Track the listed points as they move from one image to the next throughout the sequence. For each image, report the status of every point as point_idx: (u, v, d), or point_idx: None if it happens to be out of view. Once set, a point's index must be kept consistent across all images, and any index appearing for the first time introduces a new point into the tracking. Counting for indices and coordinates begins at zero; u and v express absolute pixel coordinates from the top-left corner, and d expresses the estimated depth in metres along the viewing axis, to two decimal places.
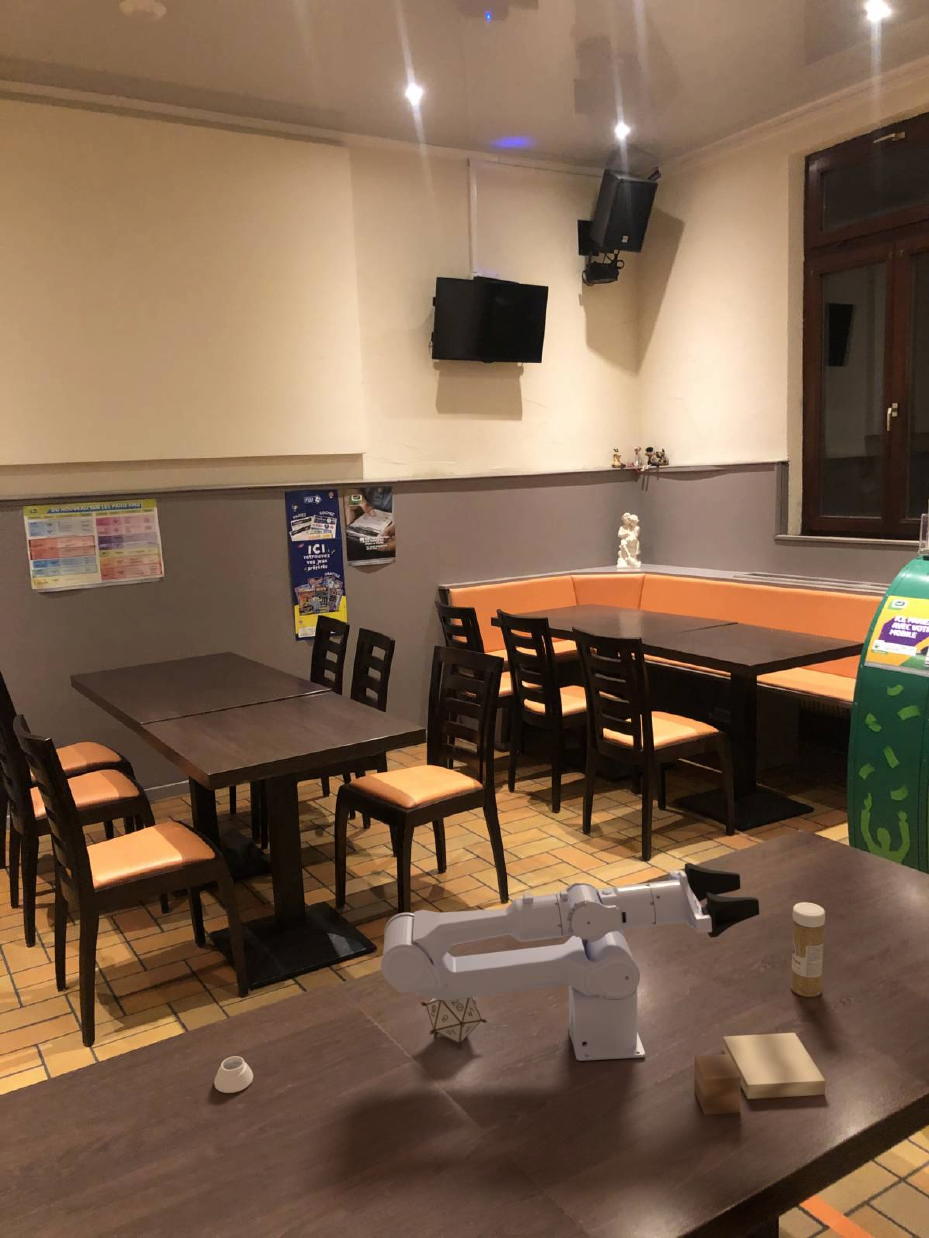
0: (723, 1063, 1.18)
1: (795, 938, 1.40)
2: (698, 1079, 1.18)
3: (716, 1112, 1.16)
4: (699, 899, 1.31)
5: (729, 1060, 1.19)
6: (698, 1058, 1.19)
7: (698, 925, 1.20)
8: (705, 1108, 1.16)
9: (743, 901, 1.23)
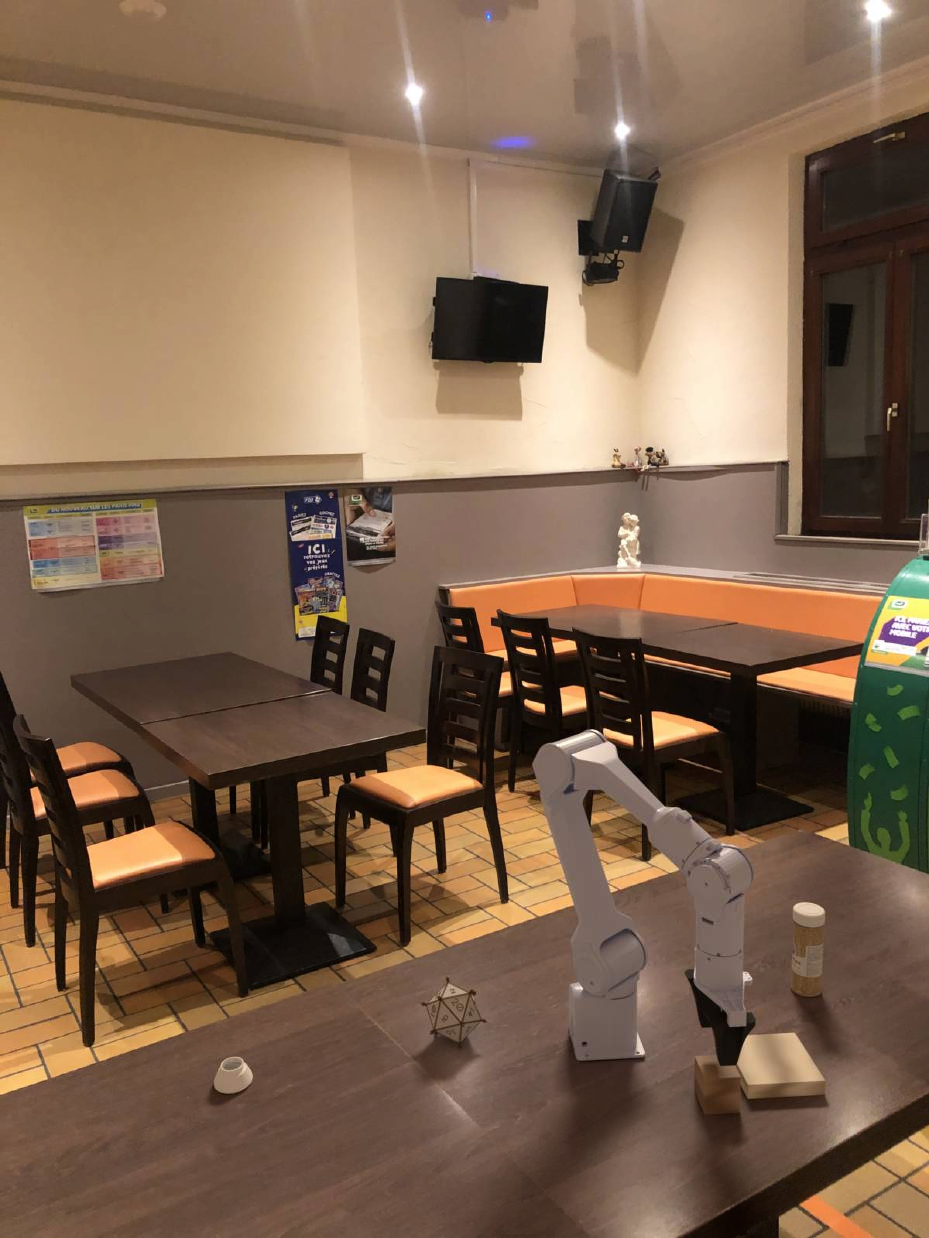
0: None
1: (795, 938, 1.40)
2: (698, 1079, 1.18)
3: (716, 1112, 1.16)
4: (693, 985, 1.19)
5: None
6: (698, 1058, 1.19)
7: (739, 1013, 1.08)
8: (705, 1108, 1.16)
9: (739, 1050, 1.12)
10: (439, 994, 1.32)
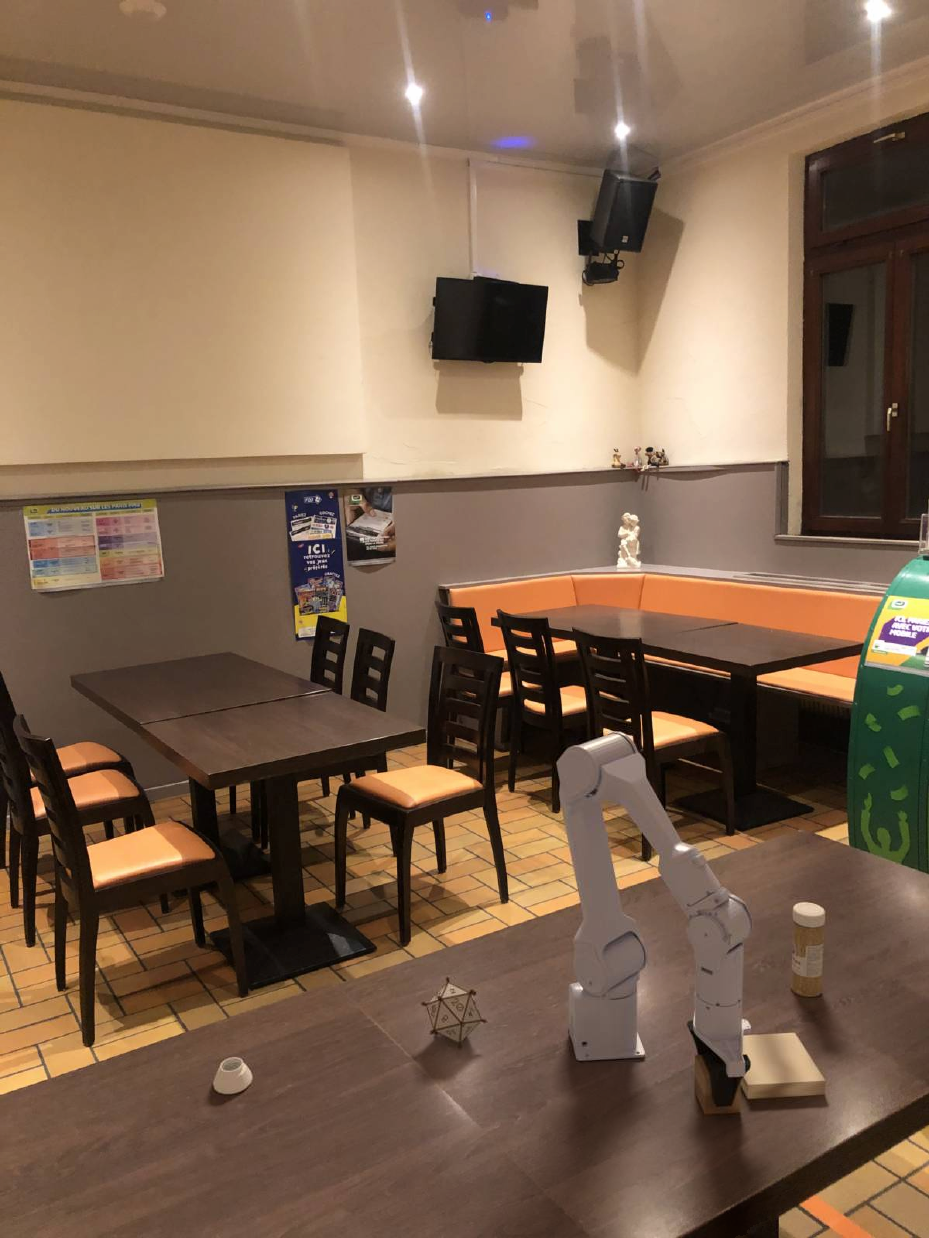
0: None
1: (795, 938, 1.40)
2: (698, 1078, 1.18)
3: (716, 1111, 1.16)
4: (695, 1037, 1.19)
5: None
6: (698, 1057, 1.19)
7: (738, 1063, 1.09)
8: (705, 1107, 1.16)
9: (735, 1091, 1.15)
10: (439, 994, 1.32)
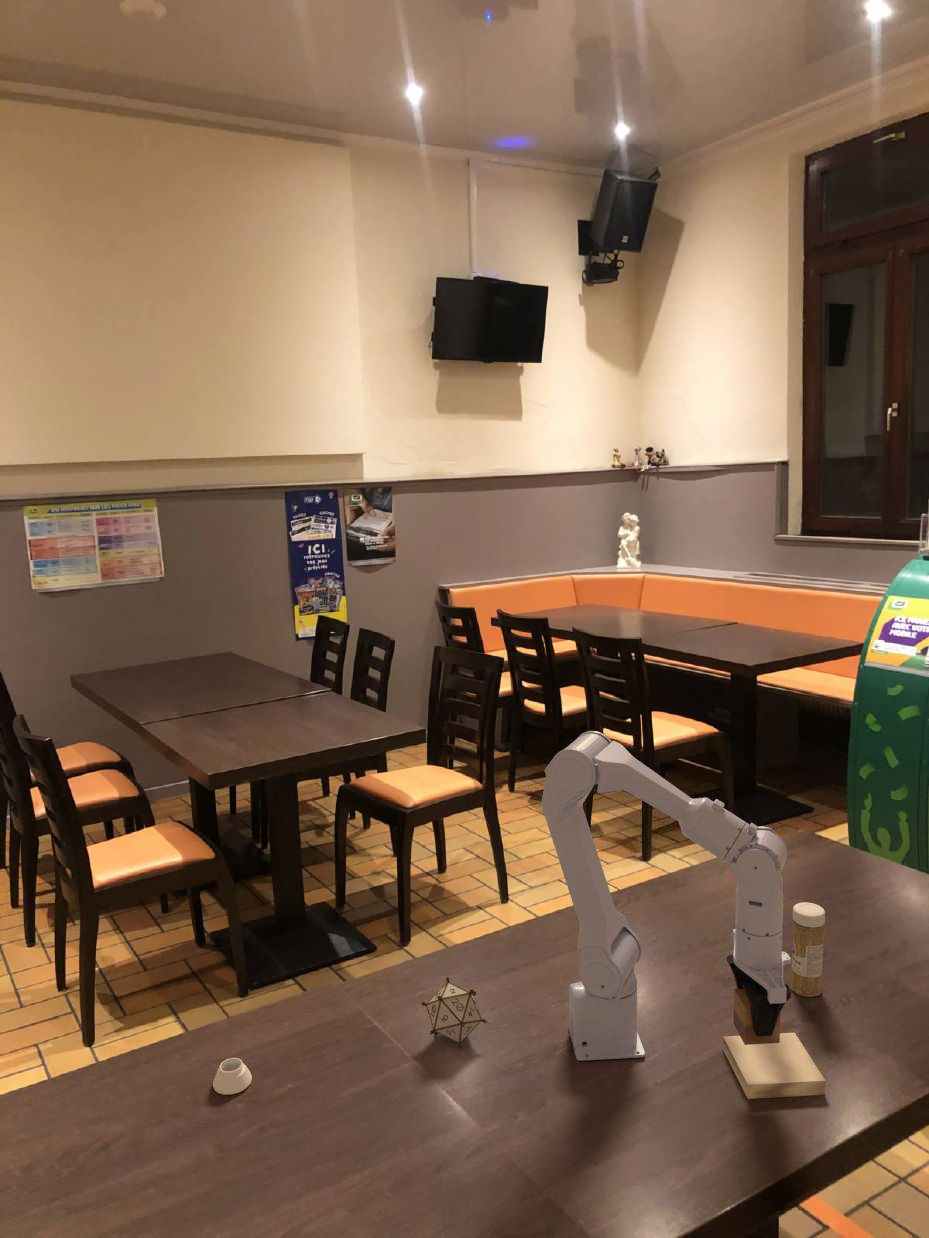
0: None
1: (795, 938, 1.40)
2: (738, 1011, 1.20)
3: (756, 1042, 1.18)
4: (735, 970, 1.22)
5: None
6: (738, 991, 1.21)
7: (779, 990, 1.12)
8: (745, 1038, 1.18)
9: (775, 1021, 1.17)
10: (439, 994, 1.32)
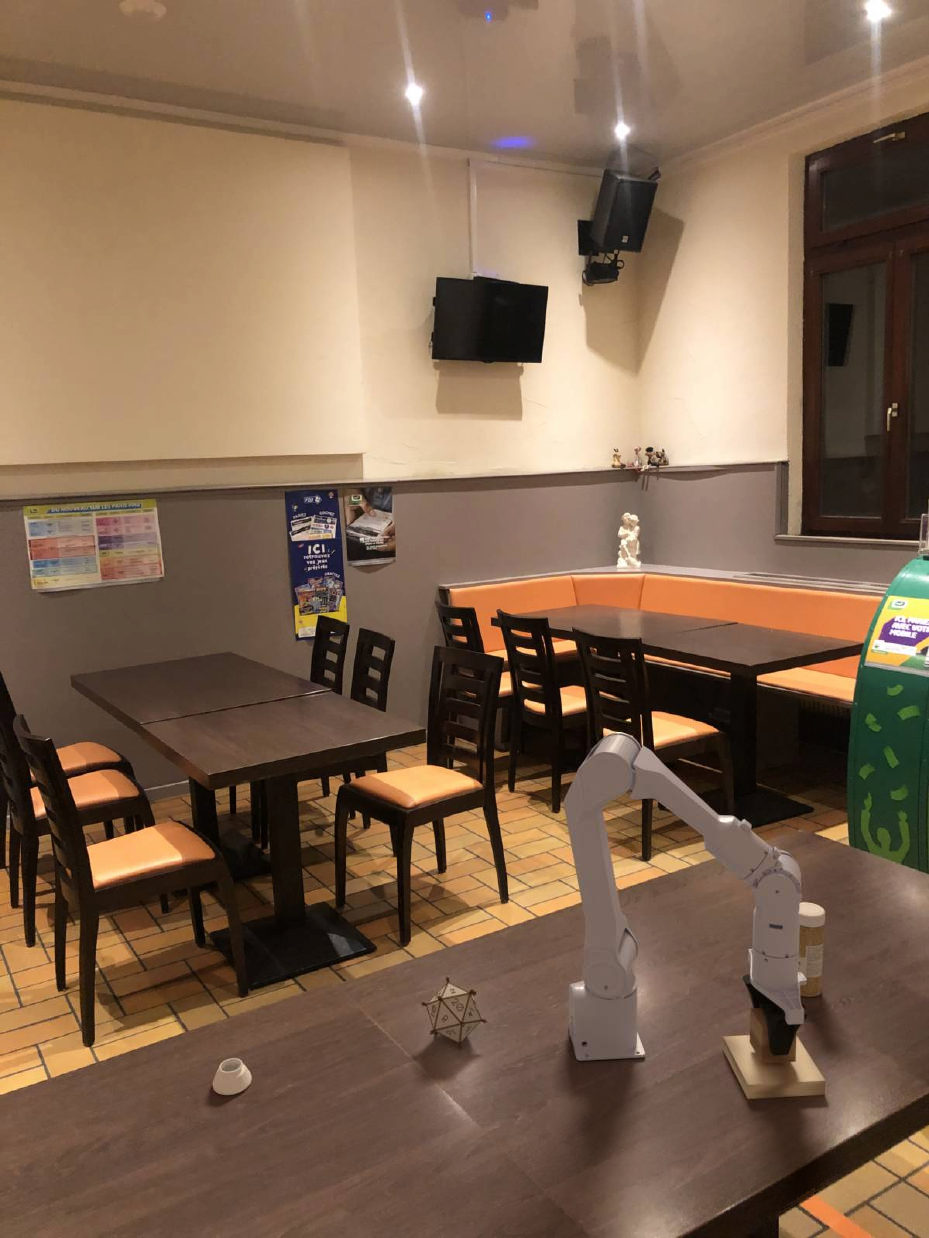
0: None
1: None
2: (754, 1030, 1.23)
3: (773, 1061, 1.21)
4: (751, 990, 1.24)
5: None
6: (754, 1010, 1.24)
7: (797, 1011, 1.14)
8: (762, 1057, 1.21)
9: (791, 1040, 1.19)
10: (439, 994, 1.32)
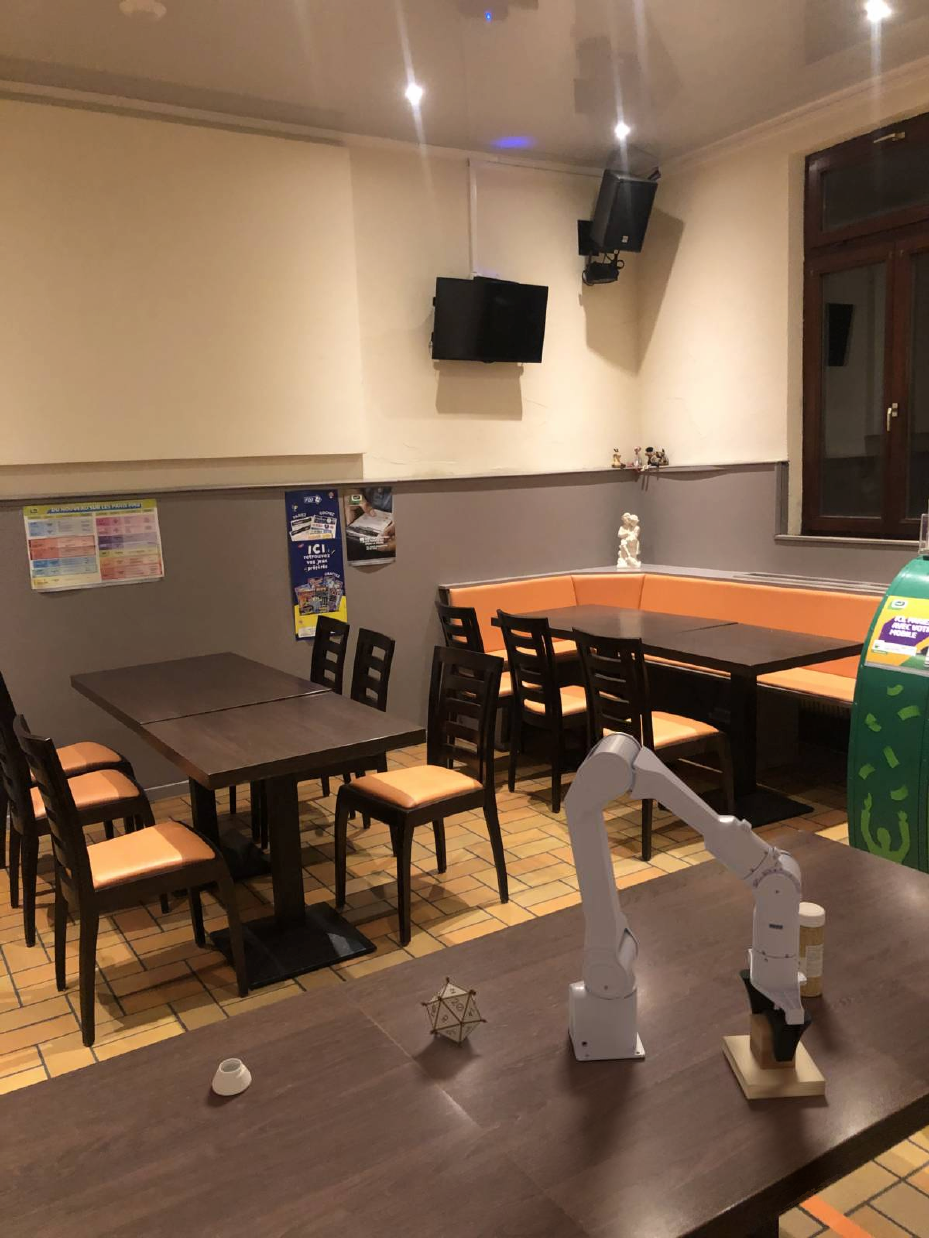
0: None
1: None
2: (754, 1036, 1.23)
3: (772, 1067, 1.21)
4: (748, 985, 1.25)
5: None
6: (754, 1016, 1.24)
7: (797, 1011, 1.14)
8: (762, 1063, 1.21)
9: (795, 1047, 1.18)
10: (439, 994, 1.32)
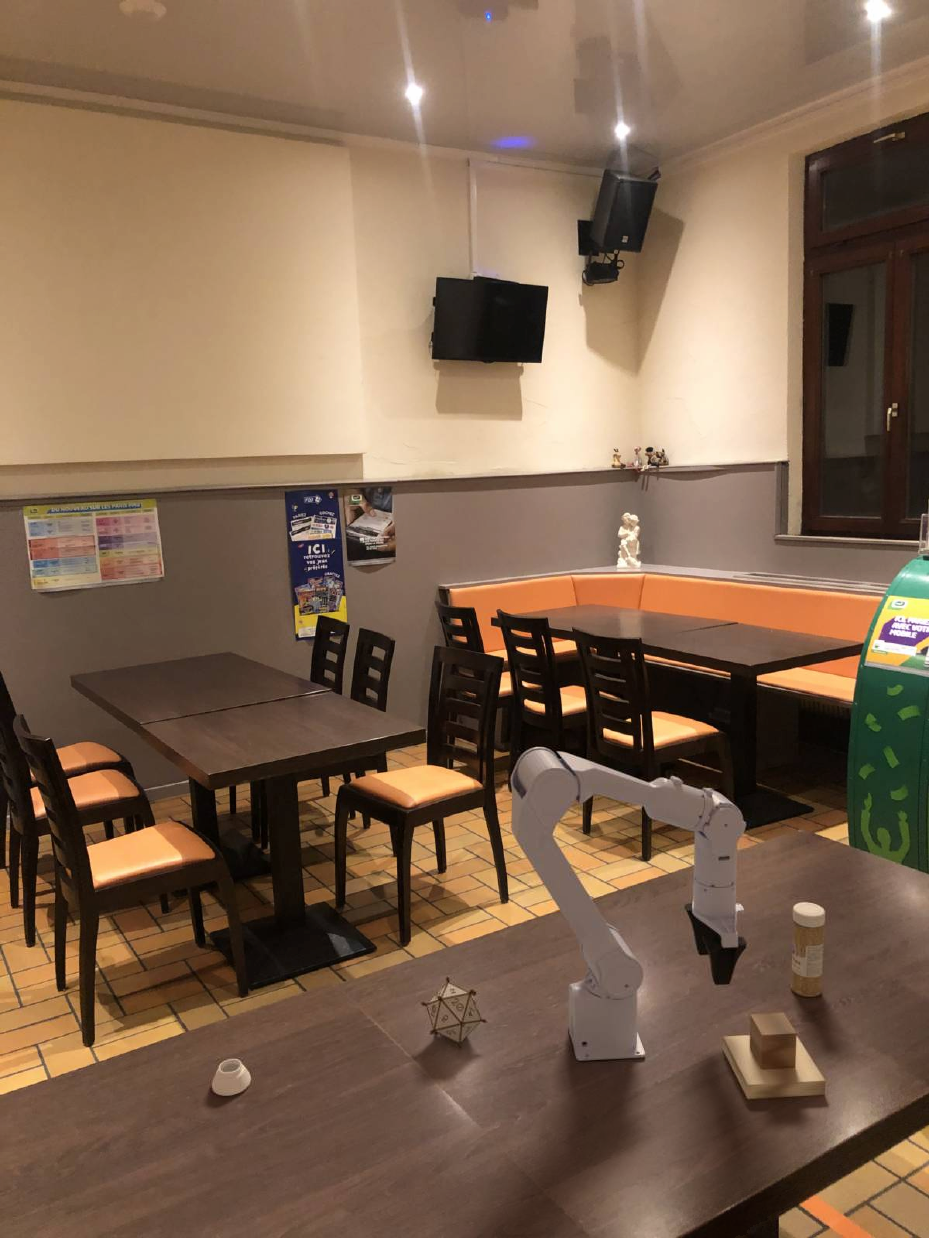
0: (778, 1020, 1.23)
1: (795, 938, 1.40)
2: (754, 1036, 1.23)
3: (772, 1067, 1.21)
4: (692, 917, 1.34)
5: (784, 1018, 1.23)
6: (754, 1016, 1.24)
7: (731, 935, 1.23)
8: (762, 1063, 1.21)
9: (732, 971, 1.27)
10: (439, 994, 1.32)
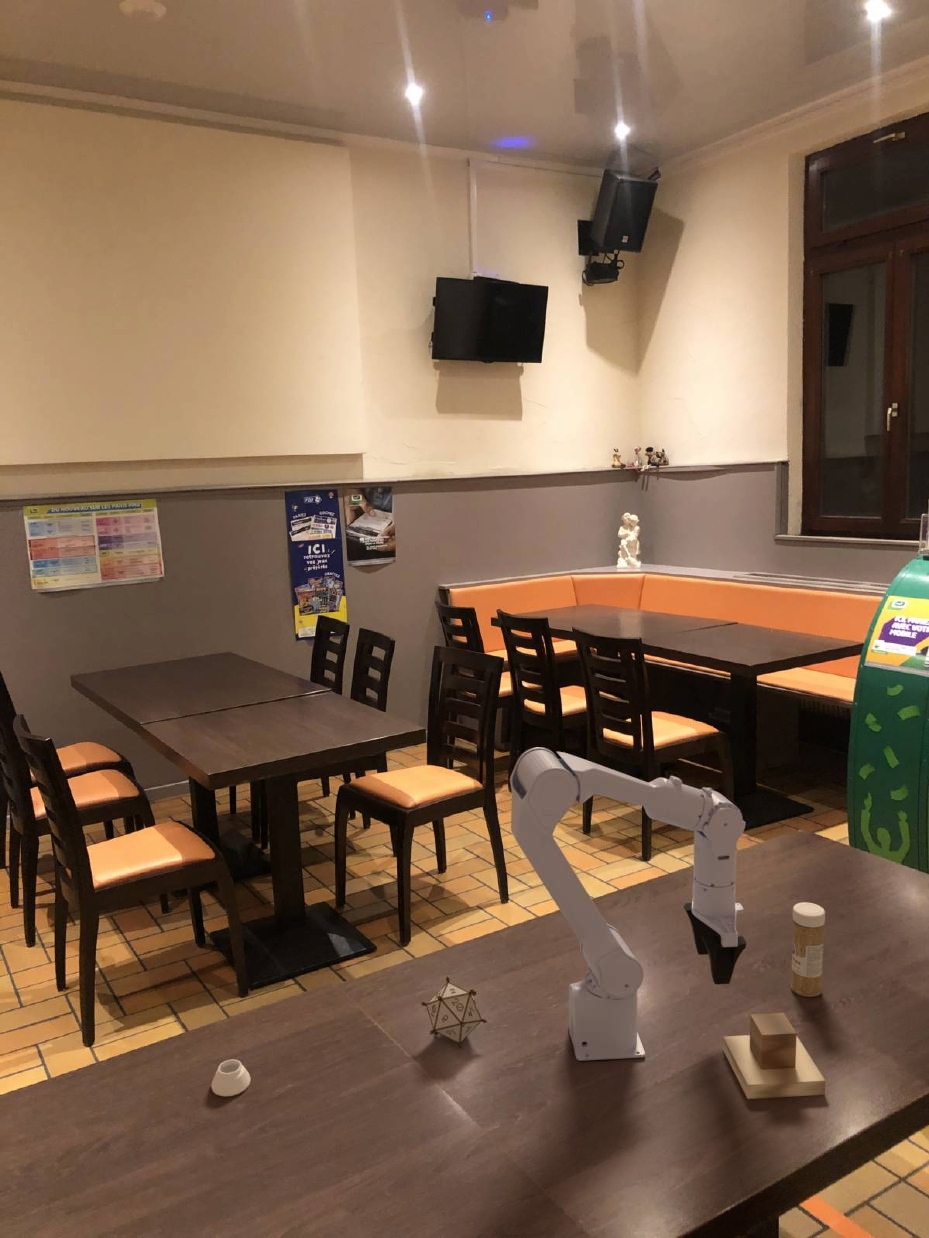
0: (778, 1020, 1.23)
1: (795, 938, 1.40)
2: (754, 1036, 1.23)
3: (772, 1067, 1.21)
4: (691, 916, 1.34)
5: (784, 1018, 1.23)
6: (754, 1016, 1.24)
7: (731, 934, 1.23)
8: (762, 1063, 1.21)
9: (732, 970, 1.27)
10: (439, 994, 1.32)
